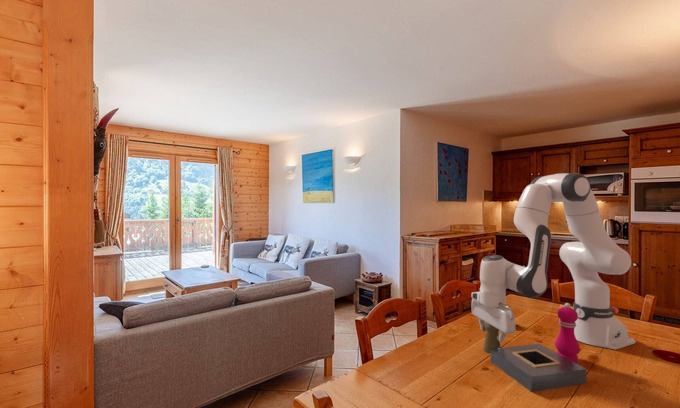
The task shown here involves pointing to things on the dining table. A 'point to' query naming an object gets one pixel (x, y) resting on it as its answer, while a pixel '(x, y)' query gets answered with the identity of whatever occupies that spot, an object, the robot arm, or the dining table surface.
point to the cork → (491, 338)
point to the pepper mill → (567, 333)
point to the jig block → (538, 367)
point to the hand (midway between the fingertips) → (491, 335)
